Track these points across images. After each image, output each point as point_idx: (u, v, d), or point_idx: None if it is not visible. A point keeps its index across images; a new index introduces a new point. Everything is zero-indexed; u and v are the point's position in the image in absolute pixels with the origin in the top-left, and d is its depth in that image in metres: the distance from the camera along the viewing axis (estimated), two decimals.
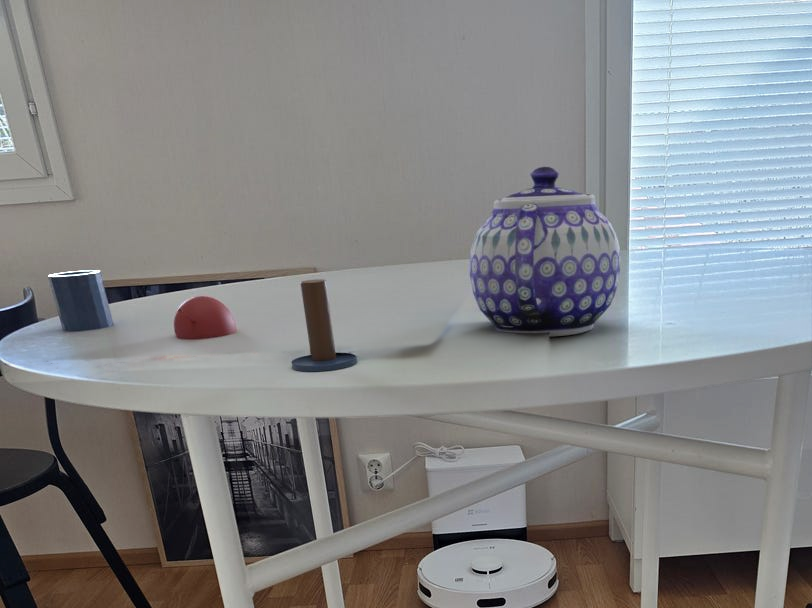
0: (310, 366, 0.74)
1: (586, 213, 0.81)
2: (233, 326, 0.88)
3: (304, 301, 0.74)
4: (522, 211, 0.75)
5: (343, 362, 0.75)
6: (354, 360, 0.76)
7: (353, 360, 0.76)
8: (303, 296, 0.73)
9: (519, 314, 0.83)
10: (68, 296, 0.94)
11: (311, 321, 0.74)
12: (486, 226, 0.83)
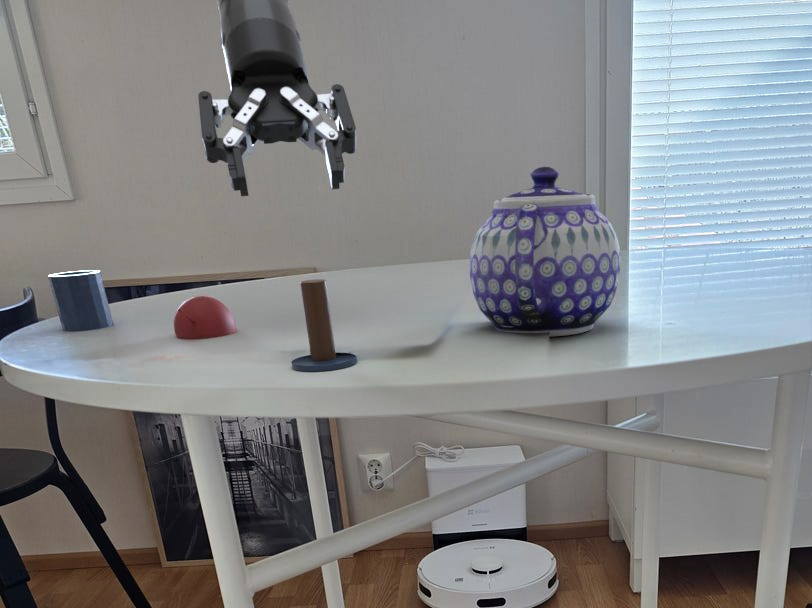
0: (310, 366, 0.74)
1: (586, 213, 0.81)
2: (233, 326, 0.88)
3: (304, 301, 0.74)
4: (522, 211, 0.75)
5: (343, 362, 0.75)
6: (354, 360, 0.76)
7: (353, 360, 0.76)
8: (303, 296, 0.73)
9: (519, 314, 0.83)
10: (68, 296, 0.94)
11: (311, 321, 0.74)
12: (486, 226, 0.83)
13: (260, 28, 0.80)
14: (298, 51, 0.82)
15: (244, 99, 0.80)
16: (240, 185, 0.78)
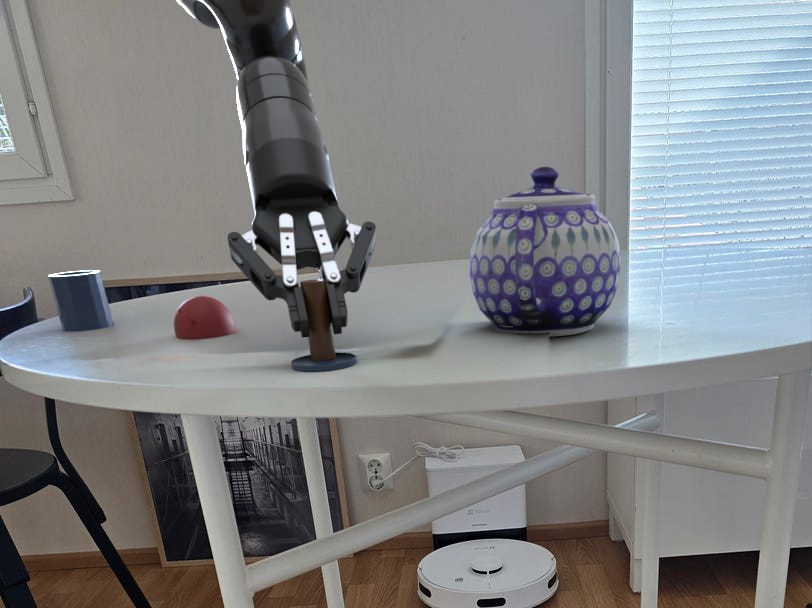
0: (310, 366, 0.74)
1: (586, 213, 0.81)
2: (233, 326, 0.88)
3: (304, 301, 0.74)
4: (522, 211, 0.75)
5: (343, 362, 0.75)
6: (354, 360, 0.76)
7: (353, 360, 0.76)
8: (303, 296, 0.73)
9: (519, 314, 0.83)
10: (68, 296, 0.94)
11: (311, 321, 0.74)
12: (486, 226, 0.83)
13: (287, 149, 0.74)
14: (327, 171, 0.76)
15: (270, 222, 0.75)
16: (302, 328, 0.73)
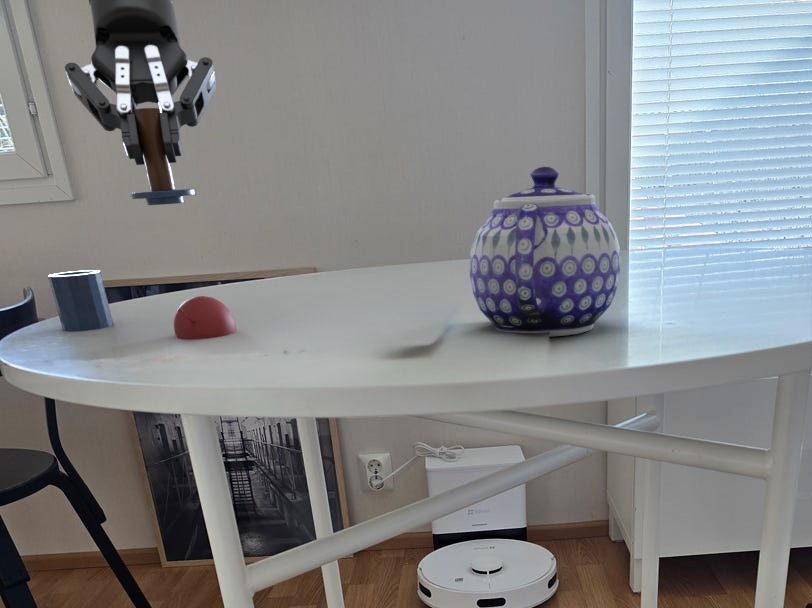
0: (145, 193, 0.77)
1: (586, 213, 0.81)
2: (233, 326, 0.88)
3: (138, 129, 0.77)
4: (522, 211, 0.75)
5: (178, 190, 0.78)
6: (191, 191, 0.79)
7: (190, 190, 0.79)
8: (137, 124, 0.76)
9: (519, 314, 0.83)
10: (68, 296, 0.94)
11: (146, 149, 0.77)
12: (486, 226, 0.83)
13: None
14: (166, 9, 0.79)
15: (109, 55, 0.78)
16: (134, 153, 0.76)
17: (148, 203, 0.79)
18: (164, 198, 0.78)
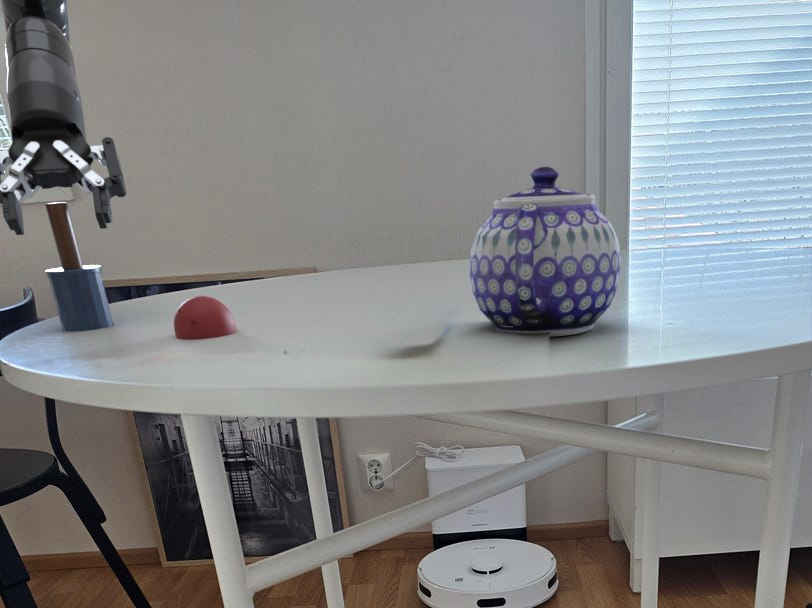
0: (56, 272, 0.93)
1: (586, 213, 0.81)
2: (233, 326, 0.88)
3: (49, 219, 0.92)
4: (522, 211, 0.75)
5: (84, 269, 0.93)
6: (96, 269, 0.94)
7: (95, 268, 0.94)
8: (48, 215, 0.92)
9: (519, 314, 0.83)
10: (68, 296, 0.94)
11: (56, 236, 0.92)
12: (486, 226, 0.83)
13: (34, 89, 0.92)
14: (72, 108, 0.94)
15: (22, 151, 0.92)
16: (13, 226, 0.90)
17: None
18: None
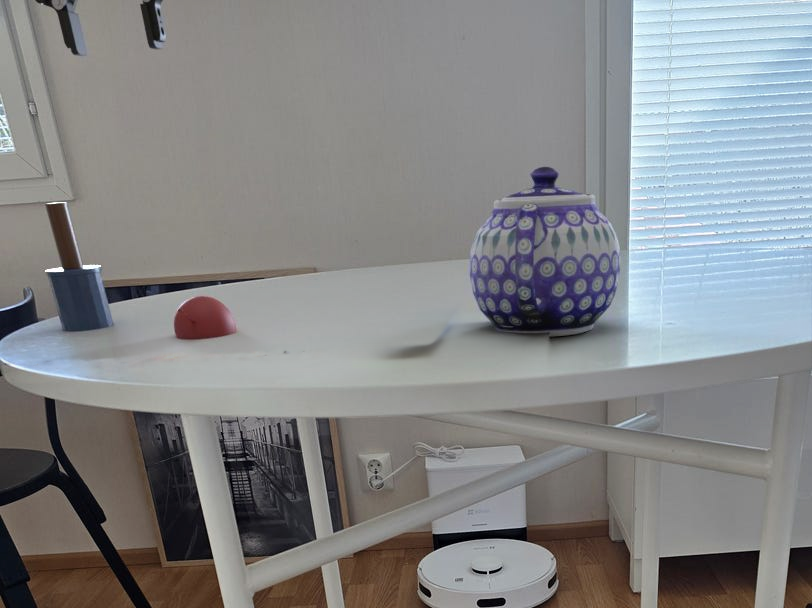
0: (56, 272, 0.93)
1: (586, 213, 0.81)
2: (233, 326, 0.88)
3: (49, 219, 0.92)
4: (522, 211, 0.75)
5: (84, 269, 0.93)
6: (96, 269, 0.94)
7: (95, 268, 0.94)
8: (48, 215, 0.92)
9: (519, 314, 0.83)
10: (68, 296, 0.94)
11: (56, 236, 0.92)
12: (486, 226, 0.83)
13: None
14: None
15: None
16: (75, 54, 0.90)
17: None
18: None
